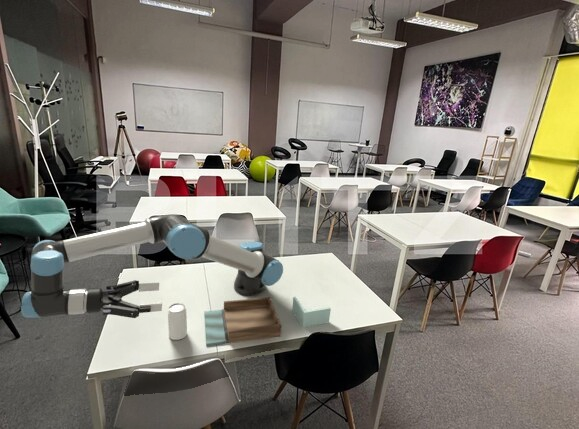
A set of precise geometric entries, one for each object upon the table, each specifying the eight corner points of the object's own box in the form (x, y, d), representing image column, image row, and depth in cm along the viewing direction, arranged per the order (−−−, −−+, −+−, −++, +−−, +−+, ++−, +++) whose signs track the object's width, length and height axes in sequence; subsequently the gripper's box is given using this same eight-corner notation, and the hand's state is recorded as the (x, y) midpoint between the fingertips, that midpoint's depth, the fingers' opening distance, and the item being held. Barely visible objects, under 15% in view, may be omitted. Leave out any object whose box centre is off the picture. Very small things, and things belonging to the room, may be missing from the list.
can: (172, 328, 124) (171, 301, 120) (189, 330, 124) (188, 303, 120) (166, 340, 118) (164, 312, 114) (183, 341, 117) (182, 313, 114)
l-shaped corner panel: (328, 323, 135) (330, 308, 133) (302, 328, 131) (304, 312, 128) (316, 307, 146) (318, 293, 143) (291, 311, 141) (293, 296, 139)
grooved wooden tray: (204, 313, 134) (204, 303, 133) (269, 306, 142) (270, 297, 141) (206, 345, 116) (206, 334, 115) (280, 336, 124) (281, 325, 123)
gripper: (91, 292, 111) (157, 288, 120) (80, 335, 89) (162, 327, 99) (91, 272, 109) (158, 270, 118) (81, 311, 87) (164, 305, 97)
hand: (160, 296), depth 109 cm, fingers open, 13 cm apart
